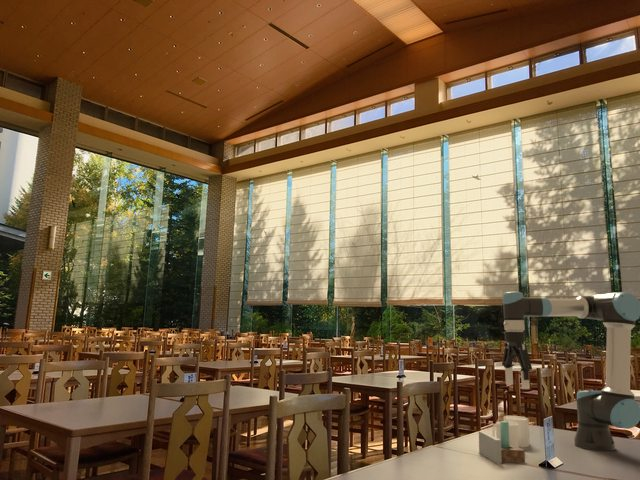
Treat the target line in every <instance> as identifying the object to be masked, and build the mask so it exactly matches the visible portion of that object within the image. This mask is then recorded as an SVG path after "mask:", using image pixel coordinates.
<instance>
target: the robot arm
mask: <svg viewBox="0 0 640 480" xmlns="http://www.w3.org/2000/svg"><path fill="white" fill-rule="evenodd" d="M502 309H503V326H504V328H503V329H504V341H505V343H504V351H503V355H502V363H501V365H502V366H504V367H503V368H504V369H505V370H504V373H505V374H504V375H505V376H504V377H505V385H506V386H513V385H514V377H513V373H514V372H513V363H514V361H515V357H516V358H517V361H518V364H519V366H520V376H521V377H520V378H521V381H520V382H521V390H530V388H531V387H530V371H531V370H533V366H532V363H531V359H530V356H529V353H528V347H527V344H526V343H525V344H523V343H522V342H526V333H525V332H524V331H525V318H527V317H529V318H530V317H531V318H532V317H533V318H535V317H541V318H542V317H577V318H578V319H587V320H588V319H589V320H597V321H602V325H603V326H605V328H606V345H605V346H606V349H605V351H606V352H605V353H606V355H605V360H606V361H605V386H604V387H603V388H602V389H601V390H579V391H577V393H576V399H575V400H576V410H577V429H576V432H575V435H574V441H573V443H574V445H575V446H577V447H579V448H582V449H587V450H593V451H602V452H606V451H607V452H608V451H610V452H611V451H615V450H616V445H615V441H614V438H613V436H612V434H611V431H610V426H612V427H616V428H617V429H623V430H624V429H626V430H627V429H628V430H630V429H632V428H635V427H636V426H637V425H638V424H639V423H640V405H639V402H637V401H636V400H635V393H634V392H632V391H631V350H632V349H631V343H632V342H631V339H632V336H631V334H632V333H631V332H632V330H633V328H635V327H636V321H637V320H639V319H640V299H638V298H637V296H636V295H634V293H633V294H632V293H631V292H625V291H616V292H608V293H597V294H592V295H586V296H585V295H584V296H577V297H575V298H548V297H547V298H546V297H540V296H539V297H525V296H524V295H523V292H522V291H506V292H504V293H503V295H502Z"/></svg>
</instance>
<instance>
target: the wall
mask: <svg viewBox="0 0 640 480" xmlns="http://www.w3.org/2000/svg"><path fill="white" fill-rule="evenodd" d="M478 453H479V454H480V455H482V456H483V457H485V458H487V459H488V460H490V461H491V462H493V463H494V464H497V465H500V464H502V463H503V462H502V458H501V440H500V439H498V438H496V437H494V436H493V434H490V433H488V432H486V431H485V430H478Z"/></svg>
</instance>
